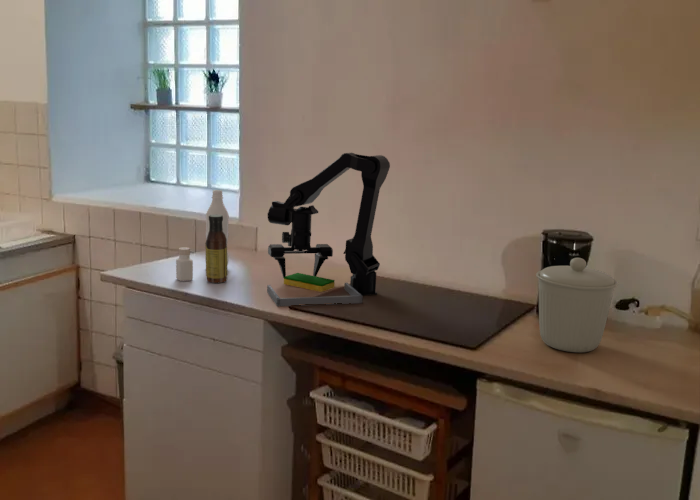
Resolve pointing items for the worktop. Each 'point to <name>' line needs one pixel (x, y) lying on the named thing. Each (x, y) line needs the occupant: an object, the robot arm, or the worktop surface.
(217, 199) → the water bottle
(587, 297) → the canister
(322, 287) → the dish sponge
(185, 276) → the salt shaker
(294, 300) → the box
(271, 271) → the worktop surface
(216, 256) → the sauce bottle
